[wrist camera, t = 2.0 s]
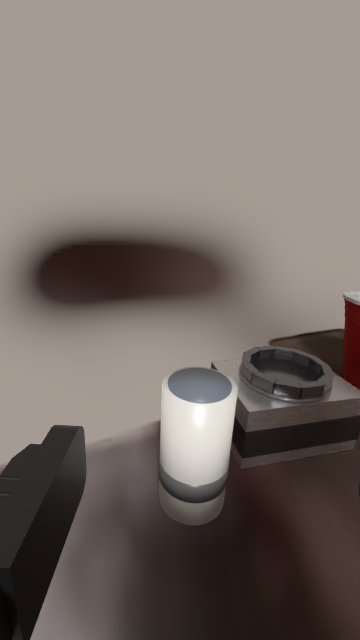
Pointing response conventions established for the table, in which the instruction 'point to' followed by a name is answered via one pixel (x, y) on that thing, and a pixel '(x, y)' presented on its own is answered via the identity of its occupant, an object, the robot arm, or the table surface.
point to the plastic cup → (352, 339)
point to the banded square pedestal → (289, 407)
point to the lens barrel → (195, 443)
